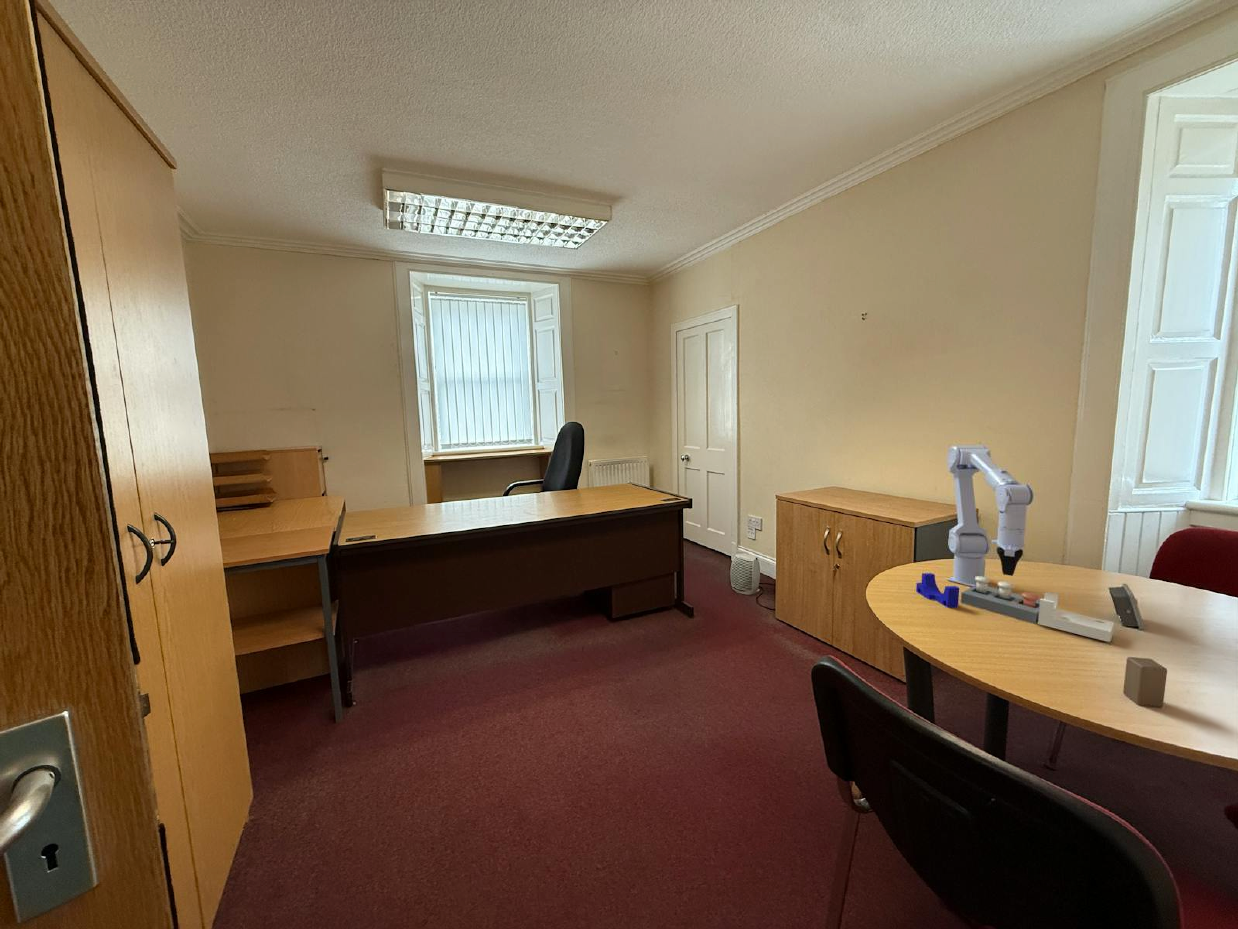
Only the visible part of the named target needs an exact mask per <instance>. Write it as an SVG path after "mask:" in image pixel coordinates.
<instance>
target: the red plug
mask: <svg viewBox="0 0 1238 929" xmlns="http://www.w3.org/2000/svg"><path fill="white" fill-rule="evenodd" d="M1021 595H1022V597H1023V605H1025V606H1029V607H1033V608H1036V600H1038V599H1039V595H1037V594H1036V593H1032V592H1021Z"/></svg>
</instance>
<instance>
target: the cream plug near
mask: <svg viewBox="0 0 1238 929" xmlns="http://www.w3.org/2000/svg"><path fill="white" fill-rule="evenodd" d="M975 580H976V581H977V585H976V590H977V591H979V592H984V593H986V592H987V589H988V587H989V584H990V583H991V579H990V578H989V577H986V576H984V577H982V576H976V577H975Z"/></svg>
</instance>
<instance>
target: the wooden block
mask: <svg viewBox="0 0 1238 929" xmlns="http://www.w3.org/2000/svg"><path fill="white" fill-rule="evenodd" d="M1167 677H1168V669H1167V668H1166V667H1165V666H1163V665H1162V664H1160V663H1159V662H1157V661H1155V660H1154V659H1152V658H1148V657H1147V658H1145V657H1137V656H1136V657H1133V656H1128V657H1127V658H1126V663H1125V674H1124V681H1123V690H1122V692H1123V695H1125V696H1126V697H1128V699H1130V700H1131V701H1133V703H1135V704H1136V705H1139V706H1146V707H1154V708H1155V707H1156V708H1163V706H1164V701H1165V694H1166V693H1165V691H1166V685H1167V683H1166V682H1167Z"/></svg>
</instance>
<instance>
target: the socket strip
mask: <svg viewBox="0 0 1238 929" xmlns="http://www.w3.org/2000/svg"><path fill="white" fill-rule="evenodd" d="M960 603H961V604H965V605H968V606H972V607H976V608H978V609H982V610H986V611H988V612H992V613H996V614H998V615H1002V616H1006V617H1011V618H1013V619H1016V620H1020V621H1023V622H1027V623H1031V624H1034V625H1036V624H1038V619H1039V607H1040V599H1039V598H1038V600H1036V608H1033V607H1029V606H1025V605H1023V597H1022V594H1018V593H1015V592H1011V598H1010V599H1006V598H1001V597H999V588H995V587H990V586H988V589H987V592H986V593H984V592H979V591H977V590H976V585H975V586H973V587H972V586H970V588H968V589H965V591H962V592H961V595H960Z"/></svg>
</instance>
